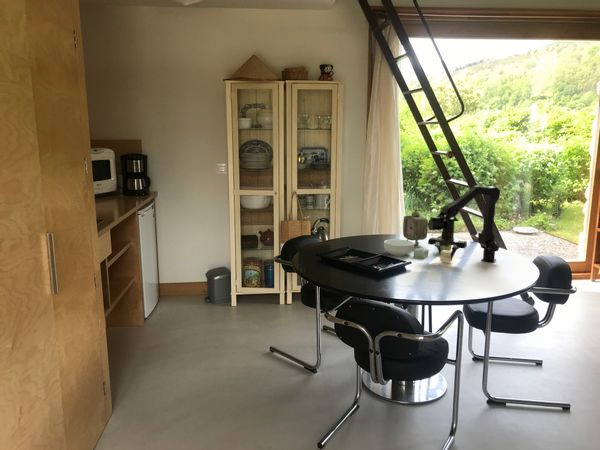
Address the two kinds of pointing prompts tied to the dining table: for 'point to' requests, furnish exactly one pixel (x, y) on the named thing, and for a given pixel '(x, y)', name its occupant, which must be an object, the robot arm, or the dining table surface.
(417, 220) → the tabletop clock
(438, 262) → the letter
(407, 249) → the cereal bowl
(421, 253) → the translucent green block
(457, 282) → the dining table surface
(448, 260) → the cube
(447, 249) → the plant pot
